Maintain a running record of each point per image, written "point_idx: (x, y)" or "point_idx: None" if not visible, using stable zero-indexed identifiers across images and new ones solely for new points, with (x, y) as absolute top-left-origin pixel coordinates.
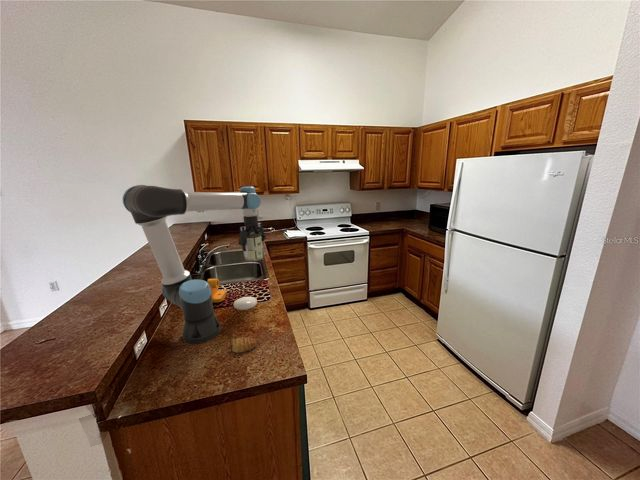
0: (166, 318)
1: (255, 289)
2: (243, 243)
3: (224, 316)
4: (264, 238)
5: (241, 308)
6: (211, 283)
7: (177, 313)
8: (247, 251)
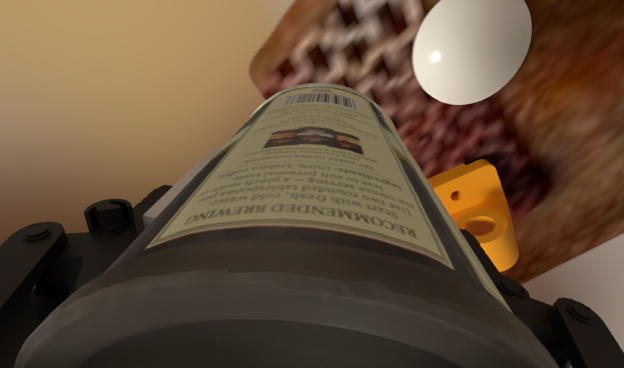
0: (616, 235)
1: None
2: (532, 322)
3: (589, 55)
4: (61, 230)
5: (529, 20)
6: (513, 238)
7: (580, 231)
8: None
